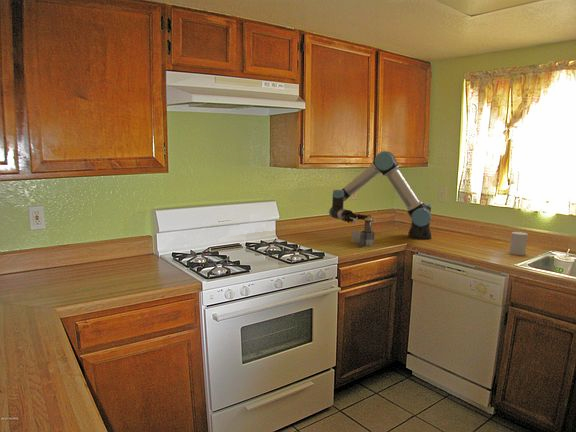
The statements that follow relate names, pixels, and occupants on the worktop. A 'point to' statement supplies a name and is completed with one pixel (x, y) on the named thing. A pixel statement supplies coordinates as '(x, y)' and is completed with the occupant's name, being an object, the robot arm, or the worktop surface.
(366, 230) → the hinge pin
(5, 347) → the worktop surface
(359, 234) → the hinge
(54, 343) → the worktop surface
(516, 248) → the cup
